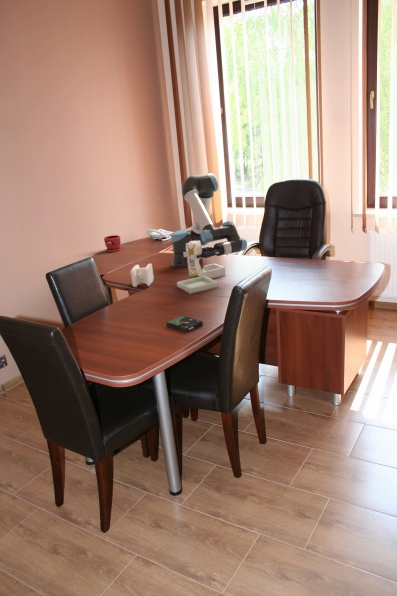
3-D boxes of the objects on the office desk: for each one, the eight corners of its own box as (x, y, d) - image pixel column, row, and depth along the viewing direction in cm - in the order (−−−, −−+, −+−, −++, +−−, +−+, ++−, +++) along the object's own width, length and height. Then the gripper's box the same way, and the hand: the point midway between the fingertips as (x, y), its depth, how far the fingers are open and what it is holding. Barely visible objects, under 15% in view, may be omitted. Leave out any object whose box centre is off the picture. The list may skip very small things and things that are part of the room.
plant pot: (104, 253, 401) (101, 239, 397) (109, 249, 413) (107, 235, 409) (119, 252, 398) (116, 237, 395) (124, 248, 411) (121, 234, 407)
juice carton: (188, 276, 281) (184, 243, 275) (193, 272, 288) (189, 240, 282) (200, 276, 278) (196, 243, 272) (205, 272, 286) (201, 240, 280)
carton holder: (196, 275, 310) (195, 267, 308) (215, 270, 315) (214, 263, 313) (206, 279, 298) (205, 271, 296) (225, 275, 303) (224, 267, 301)
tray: (177, 286, 290) (176, 282, 289) (204, 280, 297) (204, 275, 296) (190, 294, 275) (189, 289, 274) (218, 287, 281) (217, 282, 281)
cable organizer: (149, 287, 295) (146, 269, 292) (132, 288, 297) (129, 270, 293) (154, 280, 309) (151, 262, 306) (138, 281, 311) (135, 263, 307)
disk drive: (203, 326, 229) (182, 319, 239) (202, 321, 228) (182, 314, 238) (187, 334, 222) (166, 326, 233) (186, 328, 221) (165, 321, 232)
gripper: (231, 258, 278) (196, 266, 270) (214, 252, 297) (180, 259, 289) (230, 245, 276) (194, 252, 267) (213, 239, 295) (178, 247, 286)
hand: (187, 256), depth 278 cm, fingers closed on juice carton, 9 cm apart
